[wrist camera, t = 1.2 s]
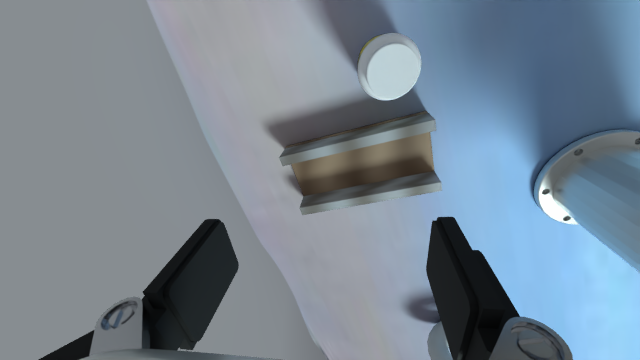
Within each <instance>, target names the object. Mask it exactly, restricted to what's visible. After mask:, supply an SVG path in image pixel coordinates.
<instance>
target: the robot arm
mask: <svg viewBox="0 0 640 360" xmlns="http://www.w3.org/2000/svg"><path fill="white" fill-rule="evenodd" d="M534 198H535V201H536V203H537V205H538V207H539V208H540V209H541V210H542V211H543V212H544V213H545V214H546V215H548V216H549V217H550V218H552V219H554V220H556V221H559V222H562V223H567V224H580V225H581V226H582V227H583V228H585V229H586V230H587V231H588V232H589V233H591V234H592V235H593V236H594V237H596V238H597V239H598V240H599V241H601V242H602V243H603V244H604V245H606V246H607V247H608V248H609V249H610V250H612V251H613V252H614V253H615V254H617V255H618V256H619V257H620V258H622V259H623V260H624V261H625V262H627V263H628V264H629V265H630V266H631V267H633V268H634V269H635V270H636V271H638V272H639V273H640V132H638V131H633V130H624V129H623V130H609V131H604V132H599V133H595V134H592V135H590V136H587V137H584V138H582V139H580V140H578V141H575V142H573V143H572V144H570V145H568V146H567V147H565V148H564V149H562V150H561V151H559V152H558V153H557V154H556V155H555V156H553V157H552V158H551V159H550V160H549V161H548V163H547V164H546V165H545V166H544V167H543V169H542V170H541V172H540V173H539V175H538V177H537V180H536V182H535V187H534ZM237 270H238V261H237V258H236V255H235V252H234V250H233V247H232V244H231V242H230V239H229V236H228V233H227V230H226V228H225V225H224V223H223V222H221V221H220V220H219V219H207V220H205V221H204V222H203V223H202V224H201V225H200V226H199V228H198V229H197V230H196V231H195V232H194V233H193V234H192V236H191V237H190V238H189V239H188V240H187V241H186V243H185V244H184V245H183V246H182V247H181V248H180V250H179V251H178V252H177V253H176V254H175V256H174V257H173V258H172V259H171V260H170V261H169V262H168V263H167V265H166V266H165V267H164V268H163V269H162V270H161V272H160V273H159V274H158V275H157V276H156V277H155V279H154V280H153V281H152V282H151V283H150V284H149V285H148V287H147V288H146V289H145V290H144V291H143V293H144V295H145V296H144V297H143V299H142V300H141V299H140V298H138V297H131V298H126V299H124V300H121V301H119V302H117V303H116V304H114V305H113V306H111V307H110V308H109V309H107V310H106V311H105V312H104V313H103V314H102V315H101V317H100V318H99V319H98V321H97V324H96V326H95V330H93V331H91V332H90V333H88V334H86V335H84V336H82V337H80V338H78V339H76V340H74V341H73V342H71V343H69V344H67V345H65V346H63V347H61V348H59V349H58V350H56V351H54V352H52V353H50V354H48V355H46V356H44V357H43V358H41V359H39V360H281V359H270V358H259V357H248V356H236V355H224V354H213V353H200V352H188V351H177V350H178V348H179V347H180V349H187V350H193V348H194V346H195V344H196V343H197V341H199V340H201V338H202V337H203V335H204V333H205V331H206V329H207V327H208V325H209V323H210V322H211V319H212V318H213V316H214V314H215V312H216V310H217V308H218V306H219V304H220V303H221V301H222V299H223V297H224V295H225V293H226V291H227V289H228V287H229V285H230V284H231V282H232V280H233V278H234V276H235V274H236V272H237ZM426 270H427V276H428V280H429V283H430V286H431V289H432V293H433V296H434V299H435V303H436V306H437V309H438V313H439V316H440V319H441V322H442V326H443V329H444V332H445V336H446V339H447V342H448V345H449V349H450V352H451V355H452V358H453V360H573V359H572V353H571V351H570V349H569V347H568V345H567V344H566V343H565V341H564V340H563V339H562V338H561V337H560V336H559V335H558V334H557V333H556V332H555V331H554V330H552V329H551V328H549V327H548V326H546V325H545V324H543V323H541V322H538V321H536V320H534V319H531V318H526V317H520V316H519V314H518V312H517V311H516V309H515V307H514V306H513V304H512V302H511V301H510V299H509V297H508V296H507V294H506V292H505V291H504V289H503V287H502V286H501V284H500V282H499V281H498V279H497V277H496V276H495V274H494V272H493V271H492V269H491V267H490V266H489V264H488V262H487V261H486V259H485V257H484V255H483V254H482V253H481V252H480V251H479V250H472V249H471V247H470V245H469V243H468V241H467V240H466V238H465V236H464V234H463V232H462V231H461V229H460V227H459V225H458V224H457V222H456V220H455V218H454V217H438V218H437V221H433V222H432V227H431V235H430V243H429V251H428V259H427V267H426Z"/></svg>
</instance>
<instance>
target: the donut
mask: <svg viewBox="0 0 640 360" xmlns="http://www.w3.org/2000/svg"><path fill="white" fill-rule="evenodd" d="M427 343H428V352H429V355H430V357H431V360H453V358H452V355H451V354H450V353H449V351H448V346H449V345H448V342H447V339H446V336H445V332H444V329H443V326H442V322H441V321H440V322H439V323H437V324H436V325H435V326H434V327H433V328H432V330H431V332H430V333H429V337H428V341H427Z"/></svg>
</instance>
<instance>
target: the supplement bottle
mask: <svg viewBox="0 0 640 360" xmlns="http://www.w3.org/2000/svg"><path fill="white" fill-rule="evenodd" d="M420 70H421V55H420V52H419V49H418V47H417V46H416V44H415V43H414V42H413V41H412V40H411V39H410V38H409V37H407V36H405V35H402V34H399V33H387V34H383V35H379V36H376V37H374V38H372V39H371V40H369V41H368V42H367V43H366V44H365V45H364V46H363V48H362V50H361V52H360V54H359V57H358V64H357V73H358V78H359V82H360V84H361V86H362V88H363V89H364V91H365V92H366V93H367V94H368V95H370V96H371V97H373V98H375V99H378V100H393V99H396V98H399V97H401V96H403V95H404V94H406V93H407V92H408V91H409V90H410V89H411V88H412V87H413V86H414V84H415V83H416V81H417V79H418V77H419V74H420Z"/></svg>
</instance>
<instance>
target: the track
mask: <svg viewBox="0 0 640 360" xmlns="http://www.w3.org/2000/svg"><path fill="white" fill-rule="evenodd" d="M432 131H436V123H435V119H434V118H433V117H432V116H431V115H430V114H429V113H428V112H427V111H423V112H419V113H415V114H411V115H407V116H403V117H399V118H395V119H391V120H387V121H383V122H380V123H376V124H372V125H368V126H364V127H360V128H356V129H352V130H348V131H344V132H340V133H336V134H332V135H328V136H324V137H320V138H316V139H312V140H308V141H304V142H300V143H297V144H293V145H289V146H286V148H285V150H284V151H283V153H282V154H281V156H280V157H279V158H280V161H281V163H282V166H285V165H290V164H291V165H292V167H293V170H294V172H295V175H296V178H297V180H298V183H299V185H300V188H301V191H302V193H303V196H304V197H303V200H302V203H301V206H300V210H301V213H302V215H306V214H312V213H317V212H323V211H329V210H335V209H340V208H346V207H352V206H358V205H363V204H369V203H375V202H380V201H386V200H392V199H398V198H403V197H409V196H415V195H421V194H426V193H432V192H438V191H442V187H441V181H440V180H439V178H438V176H437V175H436V173H435V172H434V165H433V155H432V146H431V137H430V132H432Z"/></svg>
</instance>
